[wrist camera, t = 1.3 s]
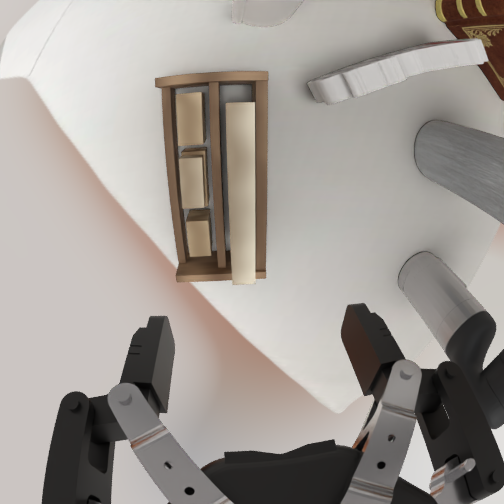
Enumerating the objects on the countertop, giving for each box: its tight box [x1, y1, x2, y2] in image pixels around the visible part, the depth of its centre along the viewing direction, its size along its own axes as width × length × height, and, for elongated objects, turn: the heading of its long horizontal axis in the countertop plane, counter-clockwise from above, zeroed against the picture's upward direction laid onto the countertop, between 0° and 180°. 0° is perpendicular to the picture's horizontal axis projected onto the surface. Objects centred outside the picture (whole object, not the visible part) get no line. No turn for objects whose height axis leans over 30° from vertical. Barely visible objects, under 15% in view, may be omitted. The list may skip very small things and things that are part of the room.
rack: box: [155, 71, 268, 282], centre depth 33 cm, size 12×25×6 cm, turn 0°
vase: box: [415, 120, 504, 224], centre depth 24 cm, size 10×10×27 cm
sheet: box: [226, 102, 255, 285], centre depth 31 cm, size 2×18×12 cm, turn 0°
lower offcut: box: [181, 147, 209, 206], centre depth 34 cm, size 3×7×3 cm, turn 0°
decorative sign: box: [307, 38, 488, 105], centre depth 24 cm, size 23×3×15 cm, turn 119°
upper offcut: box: [179, 155, 205, 209], centre depth 32 cm, size 3×6×2 cm, turn 179°
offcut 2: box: [186, 209, 212, 257], centre depth 37 cm, size 3×5×4 cm, turn 0°
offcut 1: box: [176, 92, 206, 146], centre depth 30 cm, size 3×6×4 cm, turn 1°
